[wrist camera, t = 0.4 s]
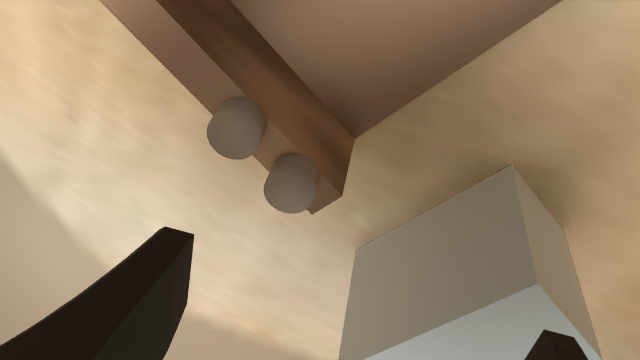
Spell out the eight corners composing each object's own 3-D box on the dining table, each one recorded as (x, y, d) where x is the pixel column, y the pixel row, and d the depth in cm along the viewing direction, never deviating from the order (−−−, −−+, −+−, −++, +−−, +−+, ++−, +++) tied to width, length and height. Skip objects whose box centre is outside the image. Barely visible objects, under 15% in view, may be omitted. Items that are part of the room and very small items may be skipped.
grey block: (571, 240, 22) (613, 373, 17) (417, 311, 25) (414, 440, 20) (511, 163, 20) (537, 283, 15) (356, 249, 23) (336, 371, 19)
